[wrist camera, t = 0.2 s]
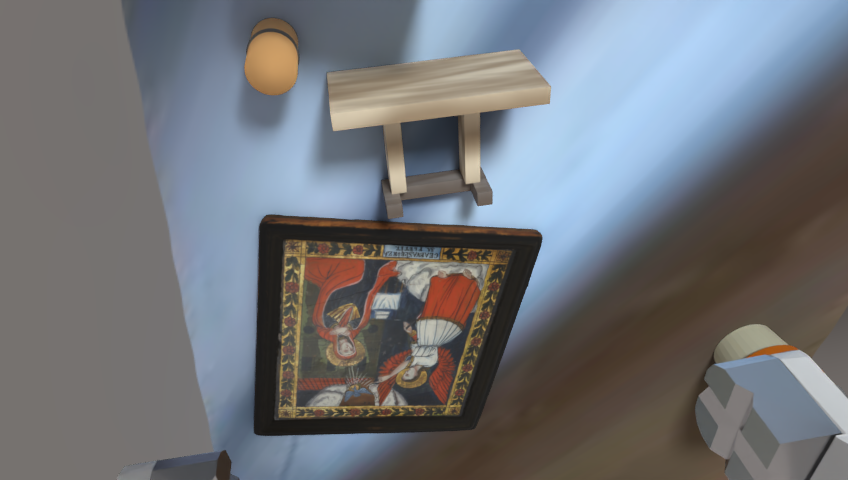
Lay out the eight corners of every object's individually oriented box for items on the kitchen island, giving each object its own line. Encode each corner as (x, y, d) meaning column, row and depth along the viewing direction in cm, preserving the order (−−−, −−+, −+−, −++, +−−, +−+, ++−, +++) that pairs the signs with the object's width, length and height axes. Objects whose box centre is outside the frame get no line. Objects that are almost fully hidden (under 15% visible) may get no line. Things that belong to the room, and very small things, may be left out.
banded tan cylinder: (244, 19, 50) (237, 47, 45) (294, 14, 51) (293, 40, 45) (255, 67, 53) (250, 99, 47) (303, 62, 53) (303, 93, 48)
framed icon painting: (499, 416, 90) (504, 432, 87) (258, 437, 84) (256, 455, 82) (543, 200, 68) (552, 214, 65) (221, 210, 62) (218, 225, 60)
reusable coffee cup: (765, 369, 93) (833, 453, 81) (691, 379, 91) (749, 466, 79) (797, 310, 86) (876, 393, 74) (716, 319, 84) (785, 406, 72)
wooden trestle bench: (326, 72, 54) (330, 114, 47) (519, 49, 56) (550, 86, 49) (347, 197, 62) (353, 248, 55) (514, 174, 64) (541, 221, 57)
